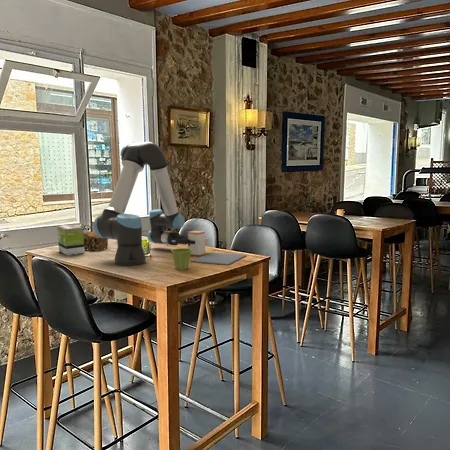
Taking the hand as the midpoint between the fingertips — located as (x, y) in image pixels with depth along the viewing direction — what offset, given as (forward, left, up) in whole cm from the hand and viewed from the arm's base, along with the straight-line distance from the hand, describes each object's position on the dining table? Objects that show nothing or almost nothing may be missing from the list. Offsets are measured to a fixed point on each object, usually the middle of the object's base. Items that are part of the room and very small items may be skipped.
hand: (204, 241), depth 228 cm
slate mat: (-7, -12, -7) cm, 15 cm away
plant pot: (-33, -5, -7) cm, 34 cm away
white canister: (+1, +5, -7) cm, 9 cm away
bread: (-9, +70, -7) cm, 71 cm away
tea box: (-22, +71, -7) cm, 75 cm away
